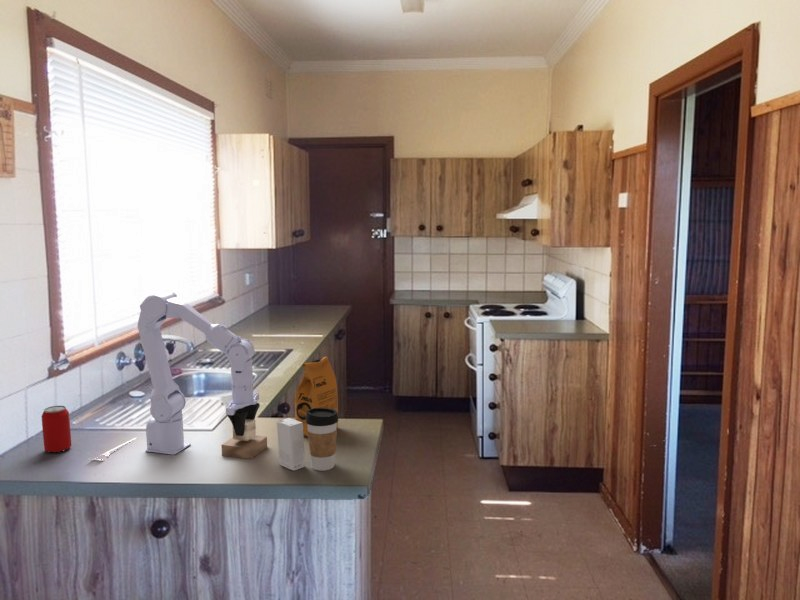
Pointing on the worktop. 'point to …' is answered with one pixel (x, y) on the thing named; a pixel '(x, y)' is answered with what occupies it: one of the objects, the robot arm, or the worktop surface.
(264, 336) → the worktop surface
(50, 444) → the beverage can
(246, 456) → the walnut base
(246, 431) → the birch block
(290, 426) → the skincare box
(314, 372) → the coffee package
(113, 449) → the fork
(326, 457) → the coffee cup
